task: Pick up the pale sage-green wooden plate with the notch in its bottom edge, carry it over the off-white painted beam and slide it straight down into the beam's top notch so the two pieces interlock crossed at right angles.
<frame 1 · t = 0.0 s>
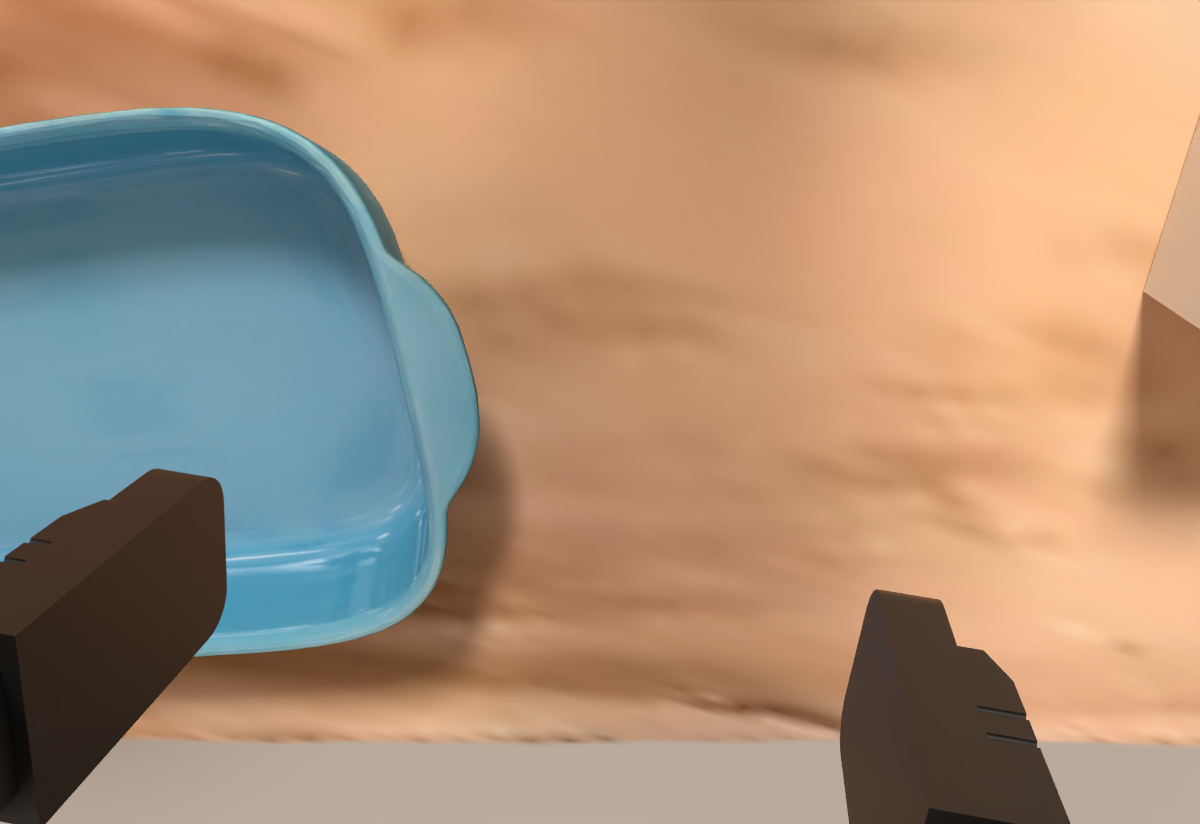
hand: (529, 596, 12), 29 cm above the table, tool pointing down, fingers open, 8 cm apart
casserole dish: (129, 370, 46), on the table
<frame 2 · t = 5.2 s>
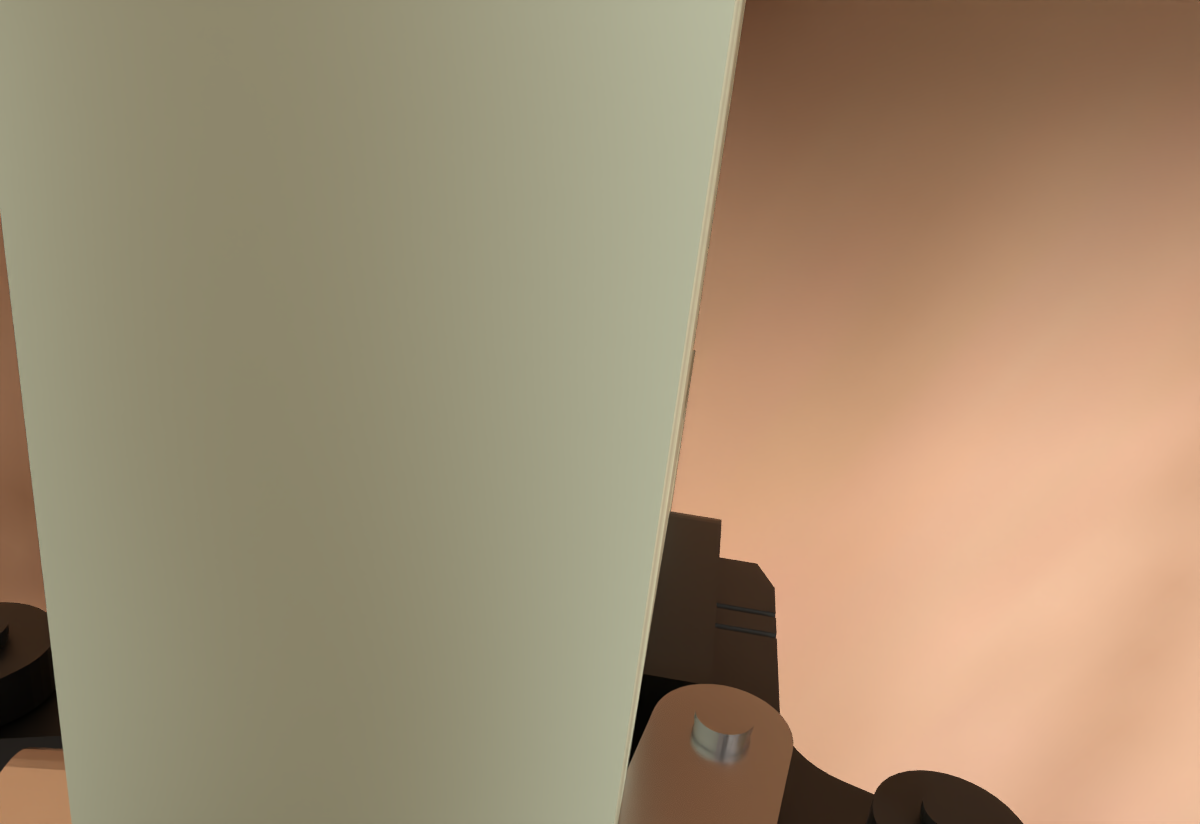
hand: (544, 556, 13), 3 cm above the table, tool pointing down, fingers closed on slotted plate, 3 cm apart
slotted plate: (615, 144, 14), on the table, touching gripper
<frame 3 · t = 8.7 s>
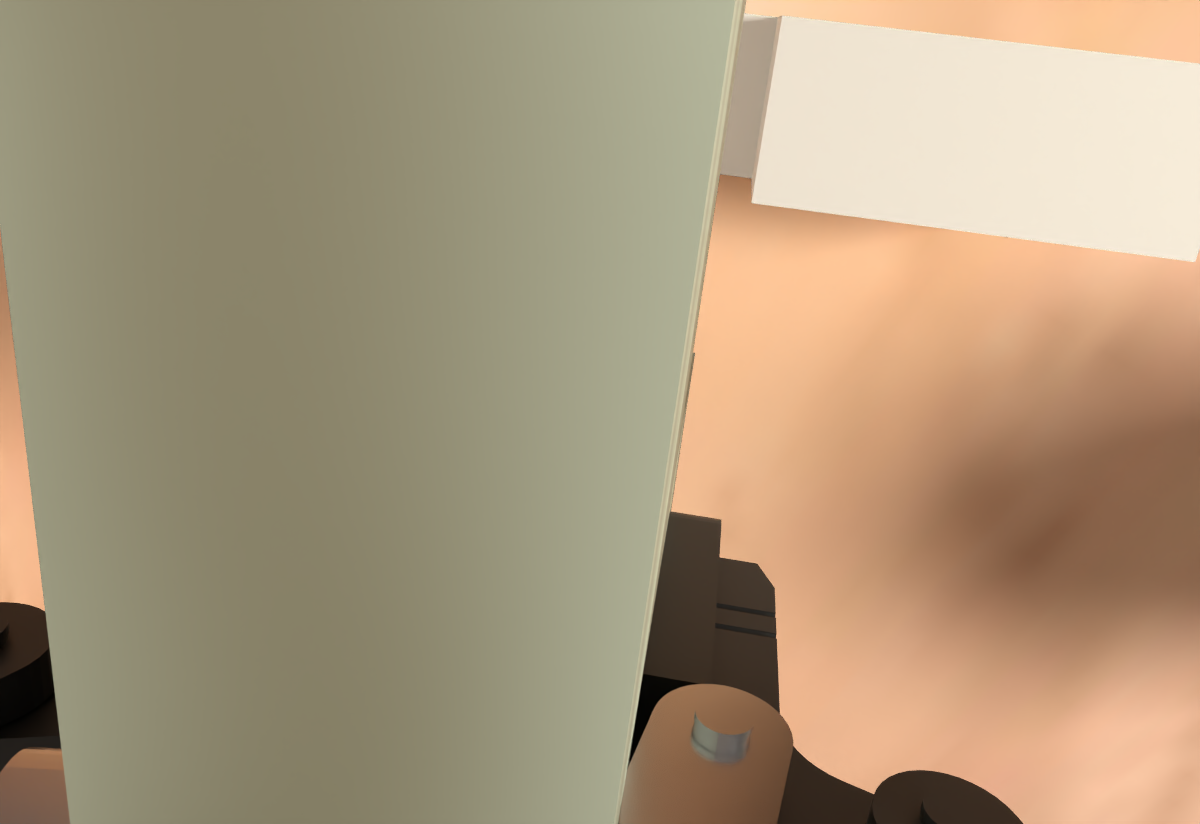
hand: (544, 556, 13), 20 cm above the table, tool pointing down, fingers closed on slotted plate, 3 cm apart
slotted beam: (687, 81, 30), on the table
slotted plate: (614, 147, 14), point 17 cm above the table, touching gripper
when the fingers open (4 cm above the table, at t = 12.3 s): slotted plate stays where it is, on the table.
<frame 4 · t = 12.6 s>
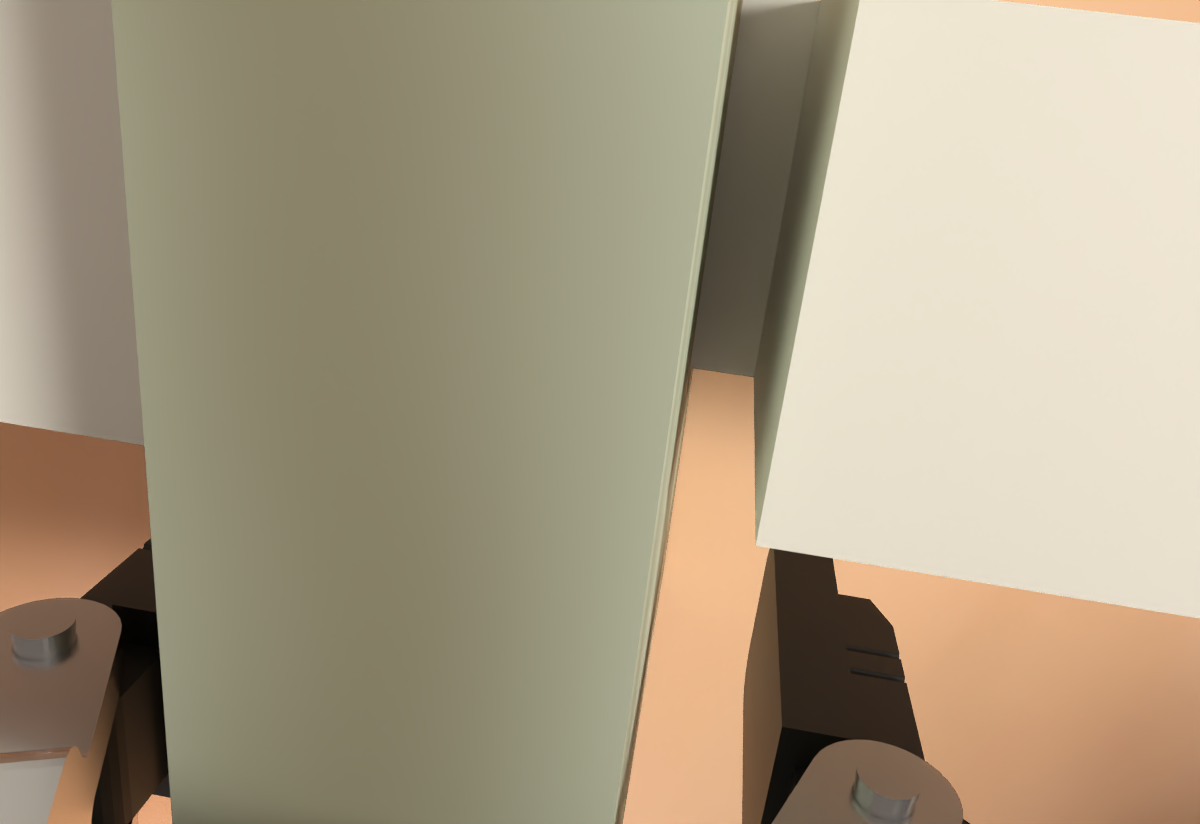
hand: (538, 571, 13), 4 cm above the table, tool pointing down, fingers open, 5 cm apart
slotted beam: (621, 136, 15), on the table
slotted plate: (621, 149, 15), on the table
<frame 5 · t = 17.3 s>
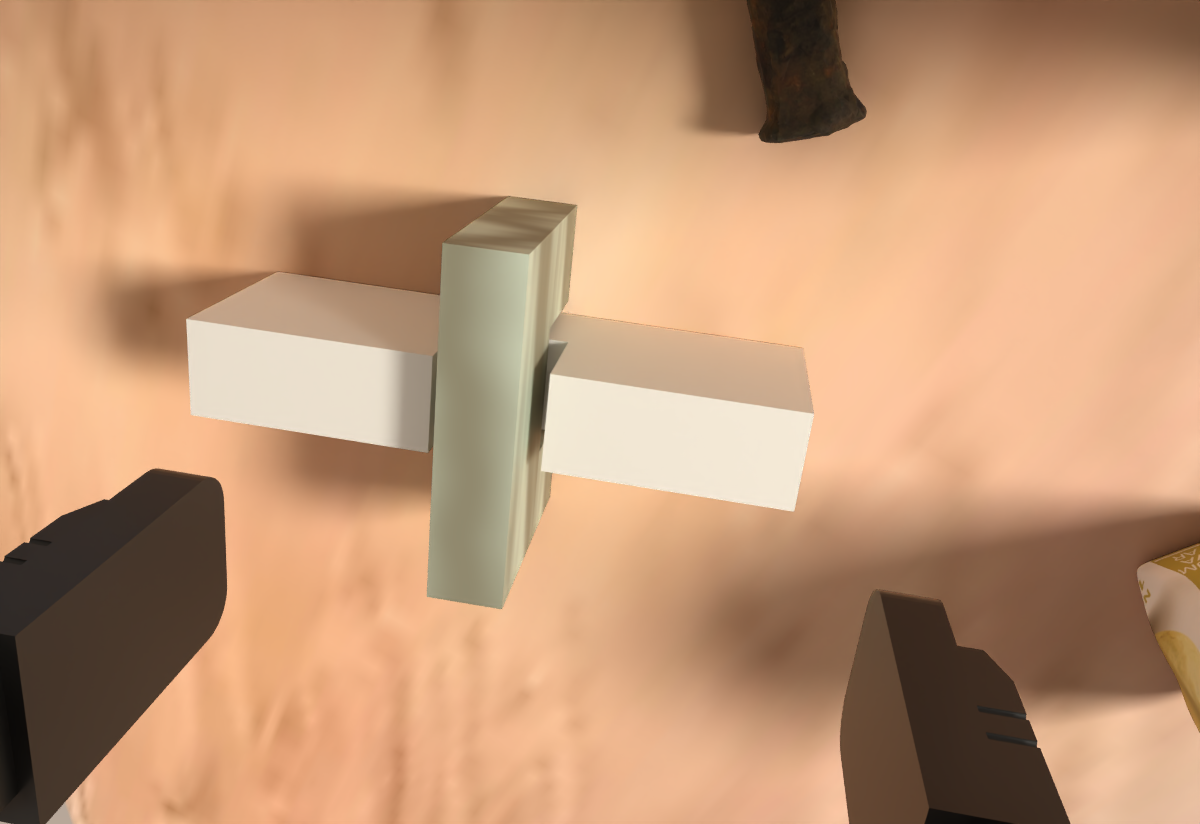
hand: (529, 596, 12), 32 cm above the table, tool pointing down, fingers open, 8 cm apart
slotted beam: (530, 351, 45), on the table
slotted plate: (530, 354, 45), on the table
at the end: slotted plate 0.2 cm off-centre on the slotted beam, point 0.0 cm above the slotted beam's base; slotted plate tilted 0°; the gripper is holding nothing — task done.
